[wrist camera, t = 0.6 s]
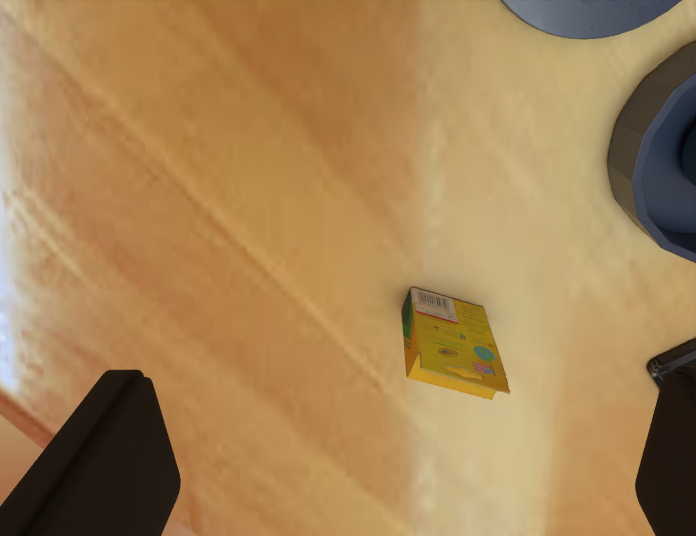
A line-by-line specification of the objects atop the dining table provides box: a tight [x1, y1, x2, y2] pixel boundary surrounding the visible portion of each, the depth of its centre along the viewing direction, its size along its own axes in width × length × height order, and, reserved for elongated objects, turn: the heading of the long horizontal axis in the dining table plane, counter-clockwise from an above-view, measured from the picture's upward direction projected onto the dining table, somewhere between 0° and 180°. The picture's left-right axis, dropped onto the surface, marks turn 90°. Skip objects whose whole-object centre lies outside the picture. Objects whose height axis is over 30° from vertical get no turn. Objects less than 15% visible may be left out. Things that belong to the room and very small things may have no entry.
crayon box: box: [402, 287, 510, 400], centre depth 43 cm, size 7×3×12 cm, turn 73°
